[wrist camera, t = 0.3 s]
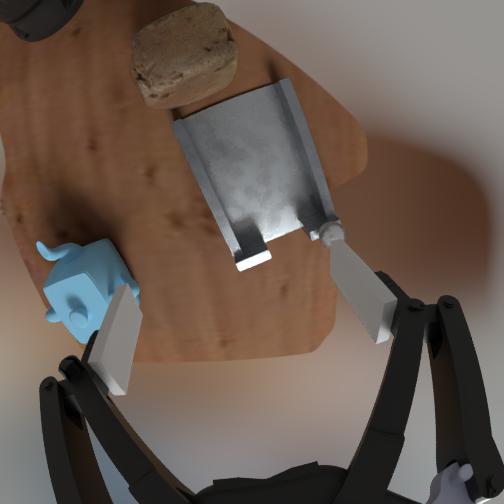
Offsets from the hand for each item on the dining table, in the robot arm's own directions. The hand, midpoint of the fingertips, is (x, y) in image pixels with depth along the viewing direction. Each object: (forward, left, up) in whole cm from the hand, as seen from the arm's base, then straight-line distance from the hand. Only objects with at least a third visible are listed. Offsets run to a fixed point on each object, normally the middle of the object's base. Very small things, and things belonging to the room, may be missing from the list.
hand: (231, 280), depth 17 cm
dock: (+1, +6, -27) cm, 28 cm away
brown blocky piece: (-16, +2, -28) cm, 32 cm away
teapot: (+4, -26, -28) cm, 38 cm away
